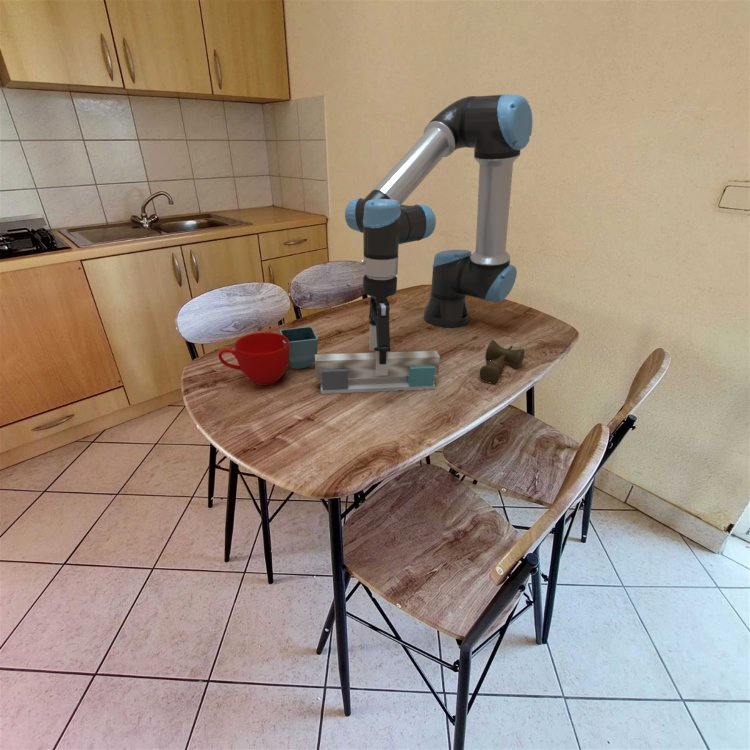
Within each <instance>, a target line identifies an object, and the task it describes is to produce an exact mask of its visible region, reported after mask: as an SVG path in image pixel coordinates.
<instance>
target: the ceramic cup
mask: <svg viewBox="0 0 750 750" xmlns="http://www.w3.org/2000/svg"><path fill="white" fill-rule="evenodd" d="M283 340H284V341H285V342H286V343H287V345H286V346H285V347H284V344H283ZM233 345H234V346H233V347H234V349H232V348H223V349H221V350H220V351H219V353H218V359H219V361H220V363H221V364H223V365H224V366H226V367H228V368H230V369H234V370H238V371H239V370H240V371H241V372H242V373H243V374H244V375H245V376H246V377H247V378H248V379H249V380H250V381H252V382H253V383H254V384H256V385H260V386H267V385H273V384H274V383H276V382H278V381H279V380H280V378H281V377H282V376H283V375H284V374H285V372H286V370H287V368H288V365H289V363H288V361H289V340H288V339H287V338H286V337H285V336H283V335H281V334H280V333H277V332H266V331H265V332H255V333H250V334H247V335H244V336H242V337H240V338H237V340H236V341H235V342H234V344H233ZM224 353H230V354H232V355H233V356H234V357H235V359H236V360H237V364H238V365H236V364H233V363H229V362H227V361H226V360H224V358H223V357H222V355H223V354H224Z"/></svg>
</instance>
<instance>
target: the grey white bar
mask: <svg viewBox="0 0 750 750" xmlns="http://www.w3.org/2000/svg"><path fill="white" fill-rule="evenodd" d="M440 359H441V357H440V355H439V352H438V351H437V350H420V351H419V350H418V351H417V350H416V351H390V352H389V353H388V375H380V376H376V352H359V353H357V352H356V353H327V354H325V353H321V354H318V353H317V355H315V362H314V367H315V380H317V381H318V380H320V381H321V379H322V370H332V369H348V378H374V377H400V376H409V371H410V367H420V366H434V367H435V374H434V376H438V375H439V367H440Z"/></svg>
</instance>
